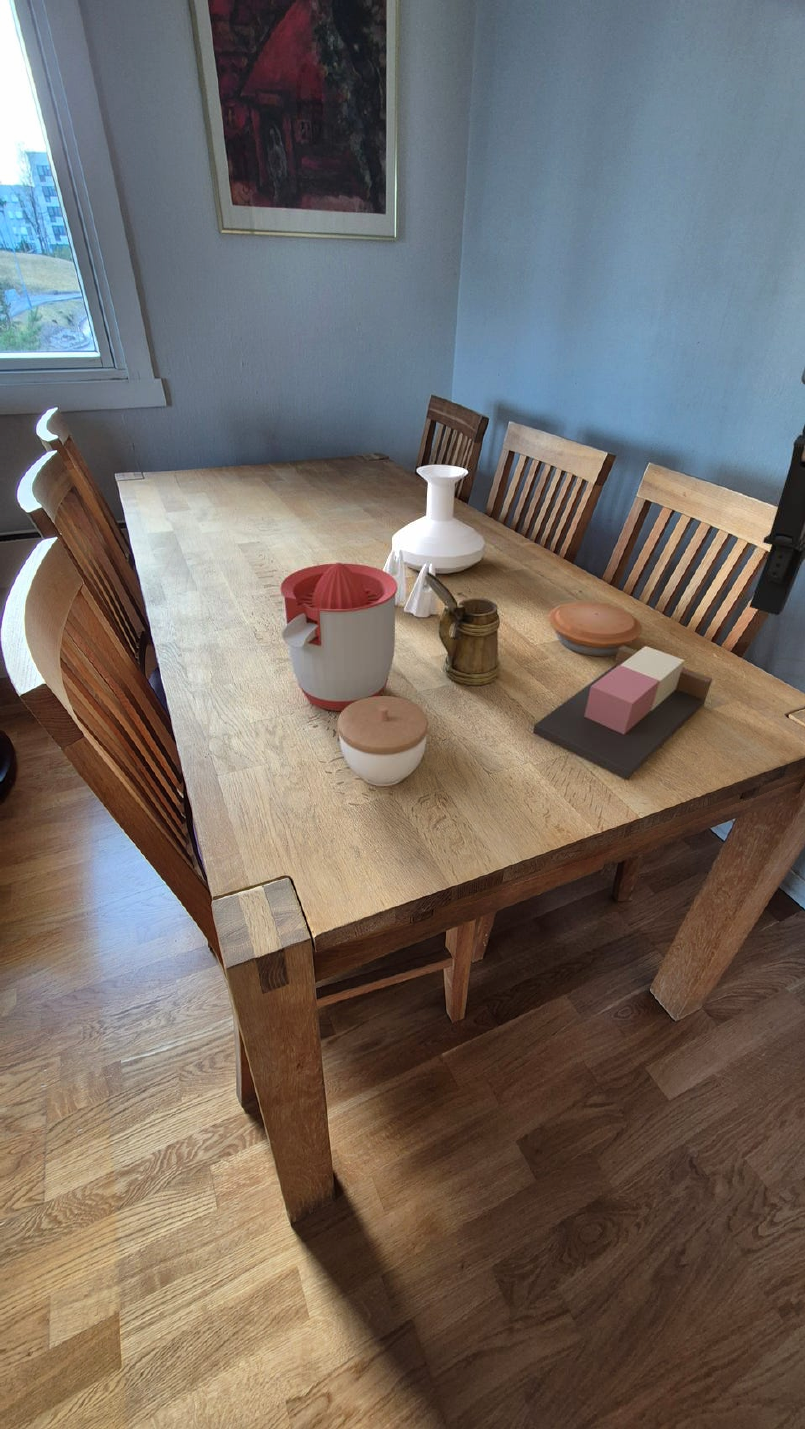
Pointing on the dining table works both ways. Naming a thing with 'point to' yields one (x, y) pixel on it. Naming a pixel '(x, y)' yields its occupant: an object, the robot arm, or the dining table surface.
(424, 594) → the shaker set
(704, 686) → the backrest board
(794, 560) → the robot arm
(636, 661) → the cream block
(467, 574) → the dining table surface
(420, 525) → the white vase
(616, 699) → the pink block
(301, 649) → the citrus juicer
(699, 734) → the dining table surface
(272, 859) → the dining table surface
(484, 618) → the wooden mug
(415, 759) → the trinket box
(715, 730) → the dining table surface
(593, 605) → the pie
